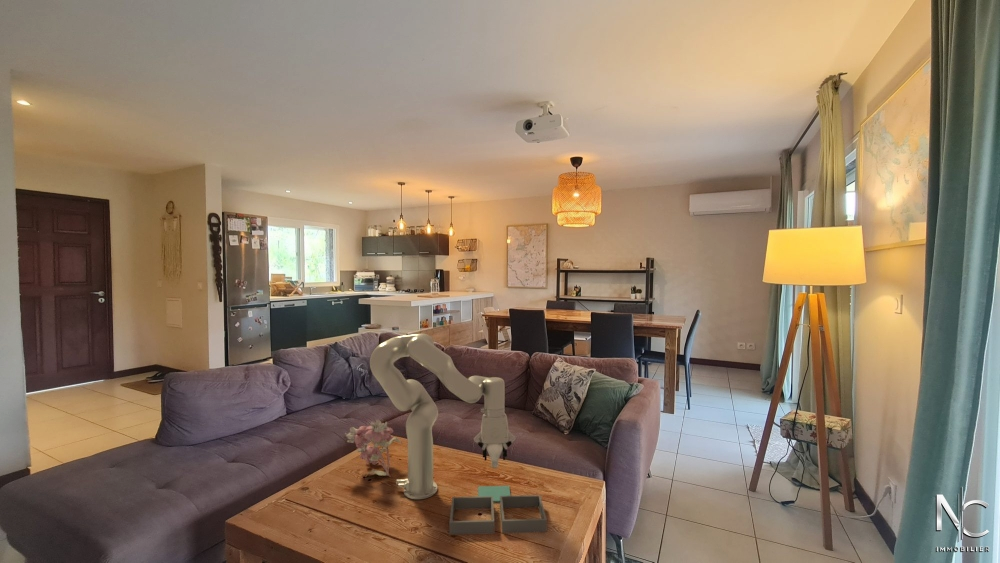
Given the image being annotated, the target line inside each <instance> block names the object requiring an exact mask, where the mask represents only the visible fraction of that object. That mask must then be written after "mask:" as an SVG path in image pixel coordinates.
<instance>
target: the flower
mask: <svg viewBox="0 0 1000 563" xmlns="http://www.w3.org/2000/svg"><path fill="white" fill-rule="evenodd" d="M369 424H370V425H369V426H365V425H362V426H359V428H355V427H354V426H351V427H349V431H347V433H346V432H344V435H345V437H347V443H352V444H354V443H355V446H356V447H357V448H356V451H357V453H360V455H359V458H360V460H365V462H366V463H367V464H372V465H377V464H380V465H381V466H382V468H383V469H384V470H385V471H382V470H378V469H373V470H371V471H369V472H367V473H366V475H365V477H367V476H368V475H370V474H375V475H378V476H385V477H386V476H388V477H391V475H390V460H391V459H390V449H389V446H391V444H392V443H394V442H396V443H401V444H403V443H402V440H400V439H399V438H397V437H394V436H393V435H391V434H393V433H394V430H393V428H391V427H389V426H388V422H387V421H385V423H383V422H382V421H380V419H375V421H374V420H371V422H370V423H369ZM368 441H370V442H371V444H372V445H368V443H367V442H368ZM379 447H381V448H379ZM383 453H386V456H387V465H386V462H385V460H384V457H383Z"/></svg>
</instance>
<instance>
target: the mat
mask: <svg viewBox="0 0 1000 563" xmlns="http://www.w3.org/2000/svg"><path fill="white" fill-rule="evenodd" d="M477 492H478V494H477V497H480V496H493V504H494V503H500V496H511V489H510V485H490V486H489V485H487V486H486V485H485V486H484V485H483V486H480V485H479V486H477Z"/></svg>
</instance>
